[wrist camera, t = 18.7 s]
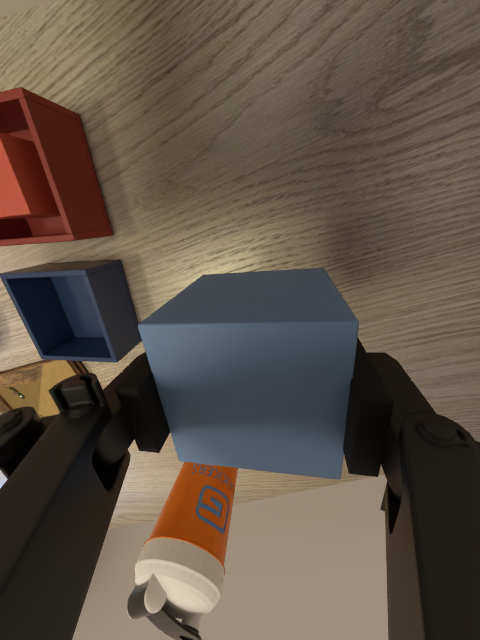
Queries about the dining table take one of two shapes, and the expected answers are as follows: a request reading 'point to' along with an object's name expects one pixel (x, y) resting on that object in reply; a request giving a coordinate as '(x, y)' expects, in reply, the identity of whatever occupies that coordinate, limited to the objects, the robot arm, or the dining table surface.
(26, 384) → the picture frame
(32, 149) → the red block
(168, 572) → the shaker bottle
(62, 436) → the robot arm
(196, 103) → the dining table surface
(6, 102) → the red bin
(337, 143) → the dining table surface
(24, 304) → the blue bin
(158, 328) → the blue block
